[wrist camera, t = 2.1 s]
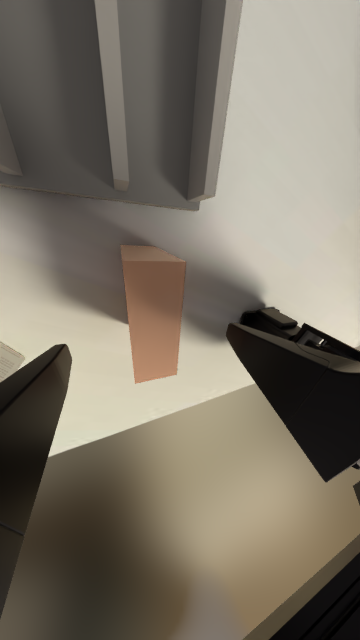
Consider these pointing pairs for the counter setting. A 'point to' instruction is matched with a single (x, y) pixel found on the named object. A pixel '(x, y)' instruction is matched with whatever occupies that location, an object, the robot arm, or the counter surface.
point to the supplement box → (9, 361)
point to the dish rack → (116, 97)
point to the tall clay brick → (153, 309)
